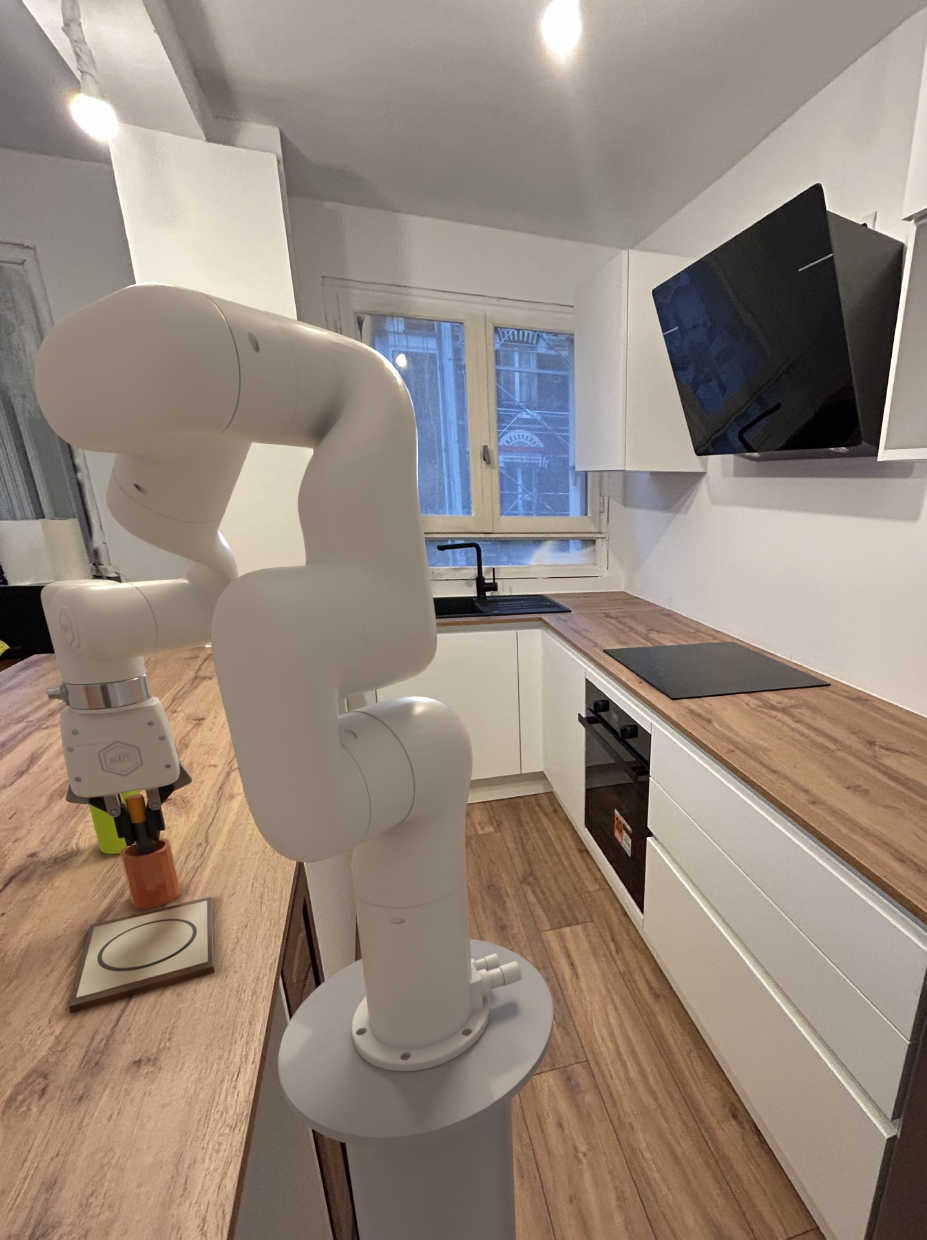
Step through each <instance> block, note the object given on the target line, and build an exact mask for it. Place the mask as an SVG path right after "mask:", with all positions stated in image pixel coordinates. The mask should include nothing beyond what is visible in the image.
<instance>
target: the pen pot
mask: <svg viewBox="0 0 927 1240" xmlns="http://www.w3.org/2000/svg"><path fill="white" fill-rule="evenodd" d="M154 843H155V848H156V852H153V853H150V854H147V855H142V856H138V852H137V847H136V843H134V844H133V845H132V846H128V847H127V846H126V847H124V848H123V849H122V850H121V851H120V853H119V857H120V861H121V865H122V869H123V873H124V877H125V881H126V885H127V890H128V895H129V897H130V901H131V903H132V904H131V905H132V906H133V907H134V908H137V909H151V908H153V909H154V908H157V907H160V906H164V905H166V904H169V903H170V902H172V901H174V900H175V899H177V898H178V897H179V896H180V894H181V887H180V881H179V876H178V872H177V867H176V862H175V858H174V853H173V850H172V844H171V841H170V840H169V839H167V838H164V837H159V841H154Z"/></svg>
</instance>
